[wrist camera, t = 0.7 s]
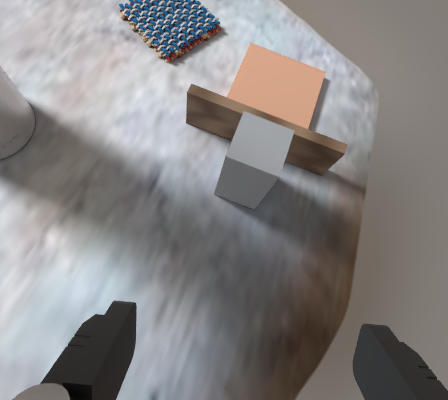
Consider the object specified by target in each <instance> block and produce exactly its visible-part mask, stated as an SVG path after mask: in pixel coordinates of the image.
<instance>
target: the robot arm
mask: <svg viewBox="0 0 448 400" xmlns="http://www.w3.org/2000/svg"><path fill="white" fill-rule="evenodd" d="M34 127H35V115H34V112H33V110H32V108H31V106H30V105H29V104H28V102H27V101H26V100H25V98H24V97H23V96H22V94H21V93H20V92H19V90H18V89H17V88H16V86H15V85H14V83H13V82H12V81H11V79H10V78H9V77H8V75H7V74H6V73H5V71H4V70H3V69H2V67H1V66H0V160H1V159H4V158H6V157H8V156H11V155H13V154H14V153H16V152H17V151H19V150H20V149H21V148H22V147H23V146H24V145H25V144H26V143H27V142H28V140H29V139H30V138H31V136H32V133H33V131H34ZM135 343H136V303H135V302H123V301H113V302H112V304H111V305H110V307H109V309H108V310H107V312H106V313H105V315H98V314H95V315H94V316H92V317H91V318H90V319H88V320H87V321H85V322H84V323H83V324H82V325H81V327H80V328H79V329H78V331H77V332H76V334H75V336H74V337H73V338H72V339H71V341H70V342H69V344H68V347H66V348H65V349H64V351H63V352H62V354H61V355H60V356H59V358H58V359H57V361H56V362H55V364H54V365H53V366H52V368H51V369H50V371H49V372H48V373H47V375H46V376H45V378H44V379H43V381H42V382H41V383H40V384H39V385H36V386H33V387H30V388H28V389H26V390H24V391H23V392H21V393H20V394H18V395H17V396H16V397H15V398H13V399H12V400H116V398H117V396H118V393H119V391H120V388H121V386H122V383H123V381H124V378H125V375H126V373H127V370H128V368H129V365H130V363H131V360H132V358H133V354H134V350H135ZM353 372H354V377H355V380H356V382H357V384H358V386H359V388H360V390H361V392H362V394H363V396H364V398H365V400H448V391H447V390H446V388H445V387H444V386H443V385H442V383H441V382H440V381H439V380H437V377H436V376H435V375H434V373H433V372H432V371H431V369H429V368H428V366H427V364H426V363H425V362H424V361H423V359H422V358H421V357H420V356H419V354H418V353H416V352H415V351H414V350H413V349H411V348H410V347H409V346H407V345H406V344H405V343H404V342H399V340H398V339H397V338H396V336H395V335H394V334H393V332H392V331H391V330H390V329H389V327H388V326H385V325H374V324H363V325H362V326H361V329H360V333H359V337H358V341H357V346H356V350H355V354H354V359H353Z"/></svg>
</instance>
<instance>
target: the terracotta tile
mask: <svg viewBox="0 0 448 400" xmlns="http://www.w3.org/2000/svg"><path fill="white" fill-rule="evenodd" d="M325 73H326V72H324V71H322V70H319V69H316V68H314V67H311V66H309V65H306V64H304V63H301V62H299V61H296V60H294V59H291V58H288V57H286V56H283V55H281V54H278V53H276V52H273V51H271V50H268V49H265V48H263V47H260V46H258V45H255V44H253V43H250V45H249V48H248V50H247V52H246V55H245V57H244V59H243V62H242V64H241V66H240V69H239V71H238V73H237V75H236V78H235V80H234V82H233V85H232V87H231V89H230V92H229V94H228V96H227V98H229V99H232V100H234V101H237V102H240V103H242V104H245V105H247V106H250V107H252V108H255V109H257V110H260V111H263V112H265V113H268V114H270V115H273V116H275V117H278V118H281V119H283V120H286V121H288V122H291V123H293V124H296V125H298V126H301V127H304V128H306V129H308V128H309V125H310V121H311V118H312V115H313V112H314V108H315V105H316V102H317V99H318V95H319V92H320V89H321V86H322V82H323V79H324V76H325Z"/></svg>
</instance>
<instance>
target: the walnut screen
mask: <svg viewBox="0 0 448 400" xmlns="http://www.w3.org/2000/svg"><path fill="white" fill-rule="evenodd" d="M244 111H245V112H248V113H251V114H253V115H256V116H258V117H261V118H263V119H266V120H269V121H271V122H274V123H276V124H279V125H281V126H284V127H286V128H289V129H292V130H294V134H293V137H292V140H291V143H290V147H289V150H288V153H287V156H286V159H285V161H286V162H288V163H291V164H293V165H296V166H299V167H301V168H304V169H306V170H309V171H311V172H314V173H317V174H319V175H322V174H324V173H325V172H326V171H327V170H328V169H329V168H330V167H331V166H332V165H333V164H334V163H336V162H337V161H338V160H339V159H340V158H341V157H342V156H343V155H344V154H345V152H346V148H347V144H345V143H342V142H339V141H337V140H334V139H332V138H329V137H327V136H324V135H322V134H319V133H316V132H314V131H311V130H309V129H306V128H304V127H301V126H298V125H296V124H293V123H291V122H288V121H286V120H283V119H281V118H278V117H275V116H273V115H270V114H268V113H265V112H263V111H260V110H257V109H255V108H252V107H250V106H247V105H245V104H242V103H240V102H237V101H234V100H232V99H229V98H227V97H224V96H222V95H219V94H216V93H214V92H211V91H209V90H206V89H204V88H201V87H199V86H196V85H193V84H191V86H190V88H189V90H188V92H187V114H186V123H188V124H191V125H193V126H196V127H198V128H201V129H203V130H206V131H209V132H211V133H214V134H216V135H219V136H221V137H224V138H227V139H229V140H232V139H233V137H234V134H235V132H236V130H237V127H238V125H239V122H240V120H241V117H242V115H243V112H244Z"/></svg>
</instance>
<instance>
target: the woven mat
mask: <svg viewBox="0 0 448 400" xmlns="http://www.w3.org/2000/svg"><path fill="white" fill-rule="evenodd" d="M129 1H130V2H131V3H130V5H128V4H127V3H126V4H125V7H124V6H123V4H119V6H120V7H121V8H122V10H120V12H121V14H120V18H122V19H125V18H126V19H128V20H129V22H128V24H129V25H131V27H130V28H131V29H132V30H137V29H139V33H138V34H139V35H143V36H145V37H143V38H142V39H141V40H142V41H143V42H146V41H147V40H148V41H147V43H146V44H147V45H148V46H149V47H151V46H153V47H156V48H154V50H155V51H156V52H157V51H158V53H157V56H158V57H164V56H165V57H166V58H167V59H166V60H164V61H165V62H166V63H169V62H170V61H172V60H174V59H175V58H177V56H178V57H182V54H183V53H185V52H186V51H188V50H189V51H190V50H191V48H193V47H195V46H196V45H198V44H199V43H201V42H203V41H204V40H205V41H207V40H209V39H208V38H209V37H211V36H212V35H214V34H217V32H219V31H220V30H221V27H219V24H220V22H219V21H217V20H219V18H215V16H213V15H212V14H211V12H209V11H207V9H208V8H207V7H206V8H205V7H204V5H201V3H200V2H199V1H195V0H135V2H134V0H129ZM133 17H134V18H133ZM133 24H134V25H133ZM214 28H215V29H214ZM209 30H211V31H209ZM203 32H204V33H203ZM197 38H199V39H198V40H197ZM192 41H194V42H192ZM183 46H185V48H183ZM159 51H160V52H159ZM169 55H171V56H170V57H169Z"/></svg>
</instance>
